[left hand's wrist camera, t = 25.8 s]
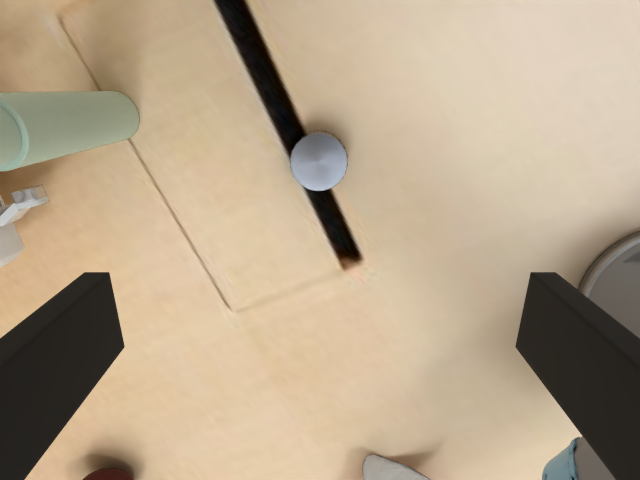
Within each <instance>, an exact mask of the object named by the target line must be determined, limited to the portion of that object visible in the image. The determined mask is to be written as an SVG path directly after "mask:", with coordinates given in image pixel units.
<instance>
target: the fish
mask: <svg viewBox="0 0 640 480" xmlns="http://www.w3.org/2000/svg"><path fill="white" fill-rule="evenodd" d="M363 480H430V479H429V478H427V477H426V476H424V475H423V474H421V473H419V472H418V471H416V470H414V469H413V468H411V467H409V466H406V465H404V464H401V463H398V462H395V461H392V460H389V459H386V458H383V457H381V456H377V455H368V456H366V458H365V460H364V463H363Z"/></svg>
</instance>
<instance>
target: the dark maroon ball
mask: <svg viewBox="0 0 640 480" xmlns="http://www.w3.org/2000/svg"><path fill="white" fill-rule="evenodd" d="M83 480H133V478H132V477H131V476H130V475H129V474H128V473H127V472H125V471H122V470H119V469H100V470H98V471H95V472H93V473H91V474H89V475H88V476H86V477H85V478H84V479H83Z"/></svg>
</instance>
